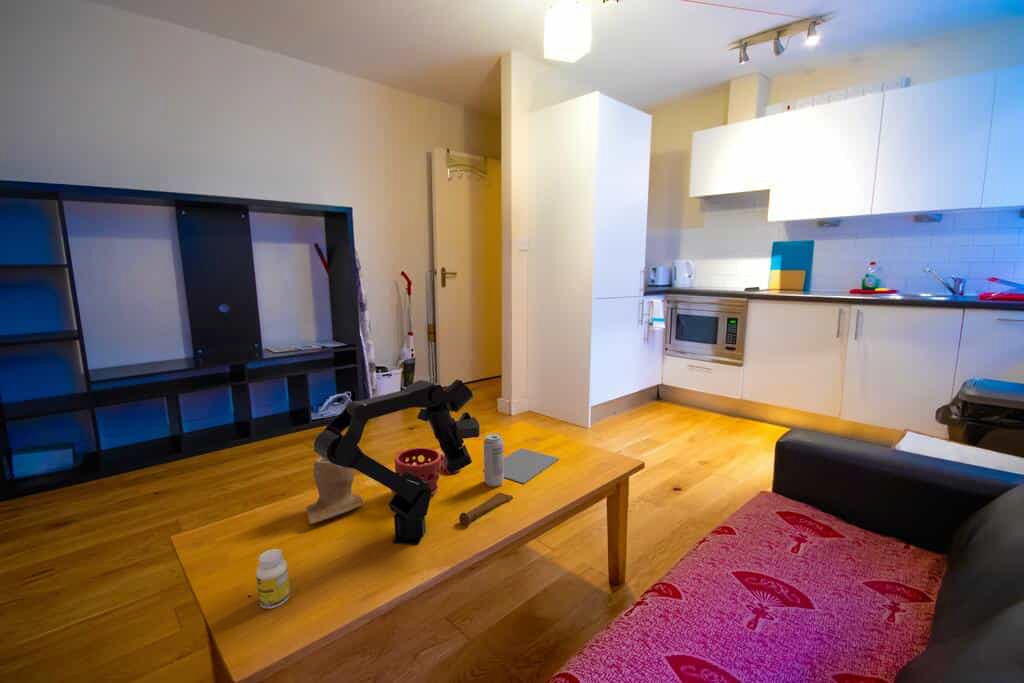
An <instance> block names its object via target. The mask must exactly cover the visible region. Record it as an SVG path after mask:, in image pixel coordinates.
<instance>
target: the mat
mask: <svg viewBox="0 0 1024 683" xmlns="http://www.w3.org/2000/svg"><path fill="white" fill-rule="evenodd" d="M559 460H560V458H559V457H556V456H552V455H549V454H545V453H541V452H537V451H533V450H531V449H527V448H522V447H521V448H519V449H517V450H515V451H514V452H512V453H511V454H509V455H507V456H504V479H507V480H510V481H513V482H516V483H519V484H523V485H525V484H527V483H528V482H529V481H531V480H532V479H534V478H535V477H536V476H538V475H539V474H541V473H542V472H544V471H545V470H546V469H548V468H549V467H551V466H552V465H553V464H555V463H557V462H558V461H559ZM482 471H483V472H484V469H482Z"/></svg>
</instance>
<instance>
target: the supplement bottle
mask: <svg viewBox="0 0 1024 683" xmlns="http://www.w3.org/2000/svg"><path fill="white" fill-rule="evenodd" d="M258 564H259V566H258V567H257V569H256V572H255V576H256V586H257V587H256V588H257V594H258V602H259V605H260V608H261V607H262V608H263V609H273V608H277V607H279V606H281V605H283V604H284V603H285V602H287V600H288V599H289V597H290V595H291V591H290V581H289V573H288V562H287V561H286V560H285V559H284V558H283V553H282V550H281V549H277V548H275V549H274V548H273V549H272V548H271V549H269V550H267V551H264V552H263V553H261V554H260V555H259V557H258Z"/></svg>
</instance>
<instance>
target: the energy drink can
mask: <svg viewBox="0 0 1024 683" xmlns="http://www.w3.org/2000/svg"><path fill="white" fill-rule="evenodd" d="M504 451H505V450H504V440H503V439H502V435H501V434H499V433H489V434H487V435H485V438H484V440H483V468H484V469H483V470H484V471H483V472H484V474H483V475H484V482H485V484H486V485H487V486H488V487H491V488H495V487H496V486H497V487H500V486H501V485H503V482H504V481H505V478H504V458H505V456H504Z"/></svg>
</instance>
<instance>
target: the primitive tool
mask: <svg viewBox="0 0 1024 683" xmlns="http://www.w3.org/2000/svg"><path fill="white" fill-rule="evenodd" d="M512 499H514V496H513V495H512V494H511V495H510V494H505V493H503V492H497V493H496V494H494V495H492V497H490V498H489V499H487V500H486V501H484V502H483V503H480V504H479V505H478V506H476V507H475V508H473V509H470V510H469V511H467V512H462V513H460V514H459V516H458V517H459V523H460V524H461V525H462V526H464V527H468V526H469V525H470V524H471V522H472V521H474V520H476V519H479V518H481V517H482V516H484V515H485V514H487V513H489V512H491V511H492V509H493V510H494V508H495V509H497V508H499V507H501V506H502V505H504V504H506V503H510V500H511V501H513V500H512ZM496 507H497V508H496ZM490 510H491V511H490Z"/></svg>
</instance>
